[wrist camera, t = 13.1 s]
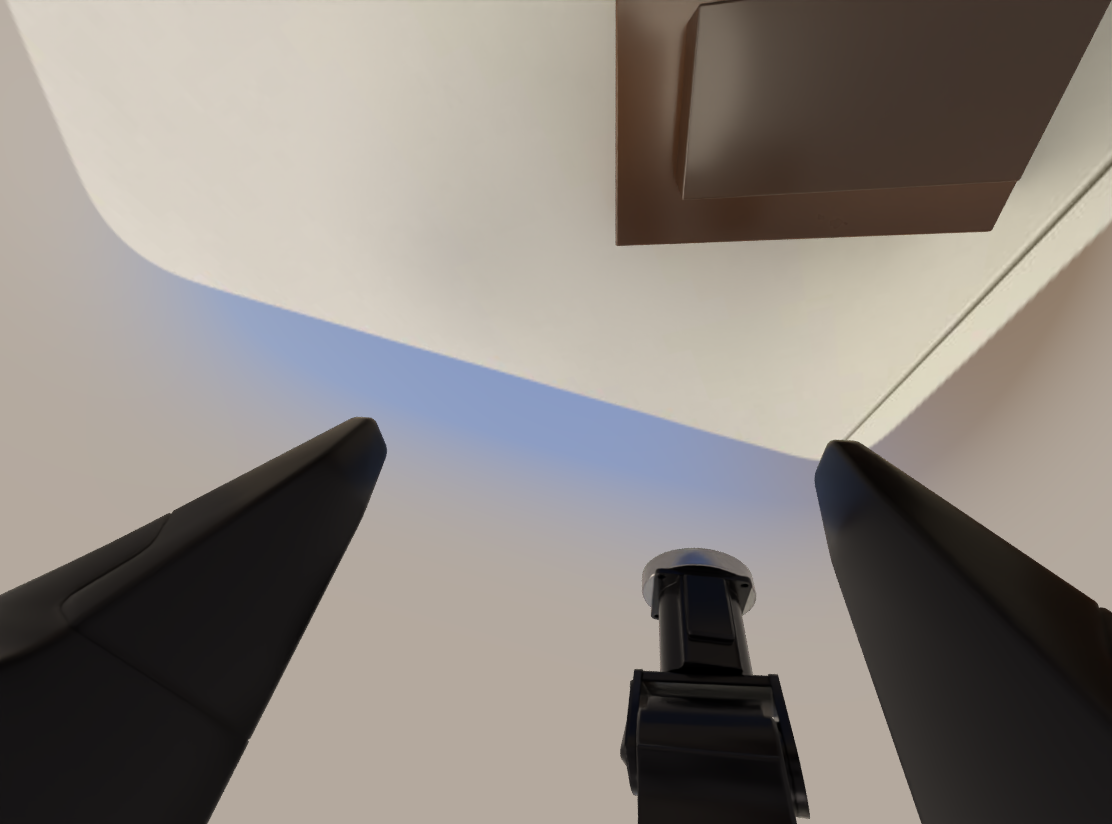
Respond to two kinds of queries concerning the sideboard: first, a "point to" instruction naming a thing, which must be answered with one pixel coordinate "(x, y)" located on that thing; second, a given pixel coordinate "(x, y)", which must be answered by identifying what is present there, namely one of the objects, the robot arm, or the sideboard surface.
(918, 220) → the stand
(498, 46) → the sideboard surface
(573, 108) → the sideboard surface
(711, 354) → the sideboard surface
